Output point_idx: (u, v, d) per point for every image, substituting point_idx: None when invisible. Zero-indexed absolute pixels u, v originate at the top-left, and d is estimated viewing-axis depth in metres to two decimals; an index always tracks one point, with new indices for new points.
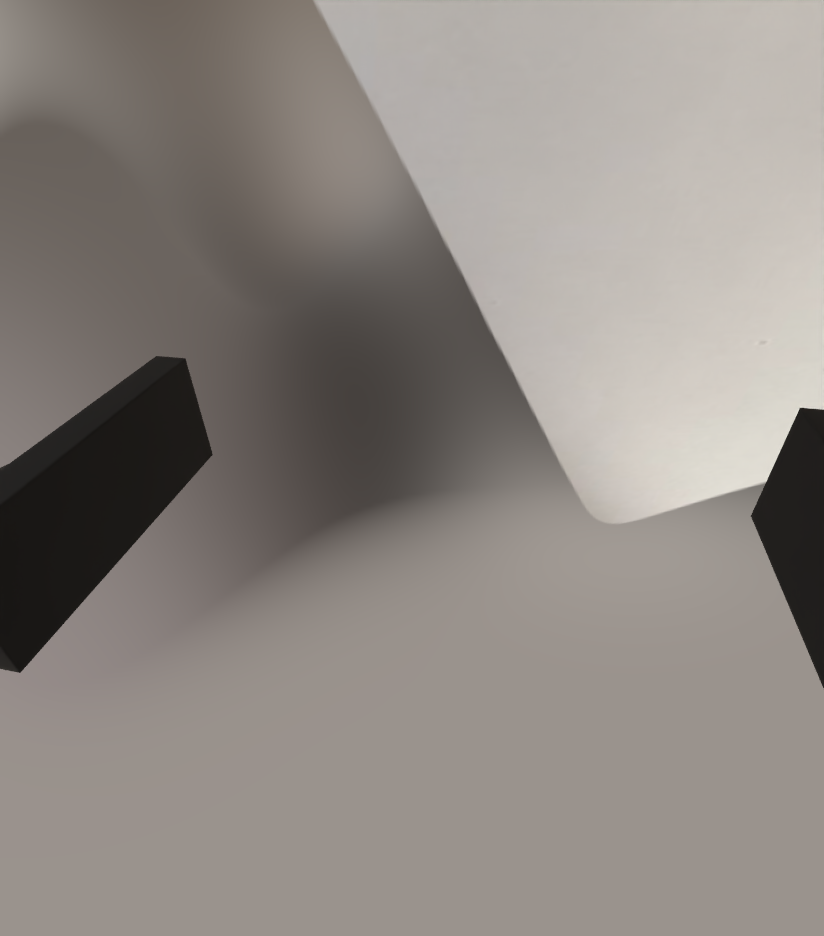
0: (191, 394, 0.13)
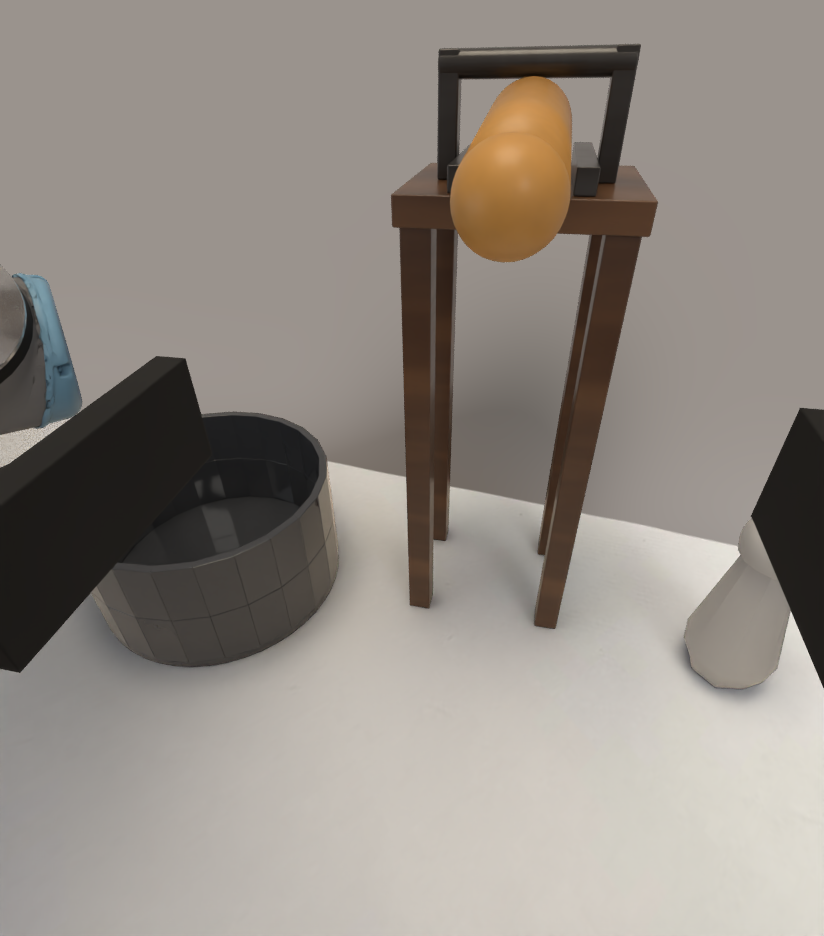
0: (190, 393, 0.13)
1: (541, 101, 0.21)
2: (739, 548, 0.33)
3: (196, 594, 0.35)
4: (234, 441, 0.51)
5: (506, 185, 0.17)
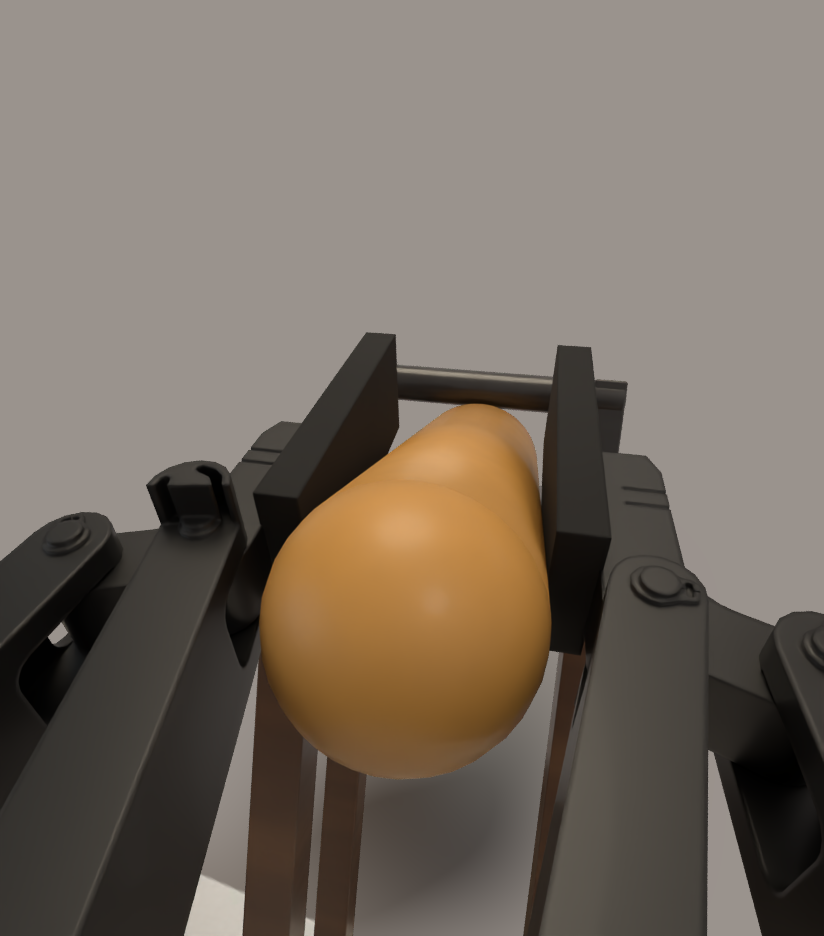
0: (395, 368, 0.14)
1: (488, 432, 0.13)
2: None
3: None
4: None
5: (376, 614, 0.06)
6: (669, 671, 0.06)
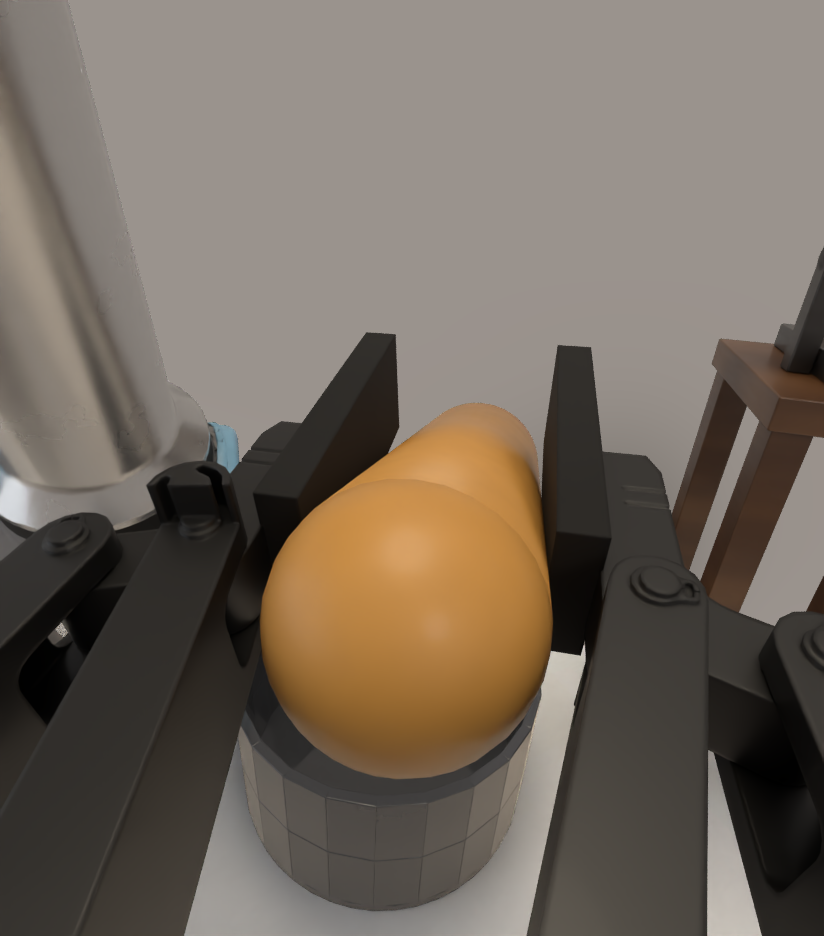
0: (395, 368, 0.14)
1: (489, 431, 0.13)
2: None
3: (418, 832, 0.28)
4: None
5: (377, 614, 0.06)
6: (669, 671, 0.06)
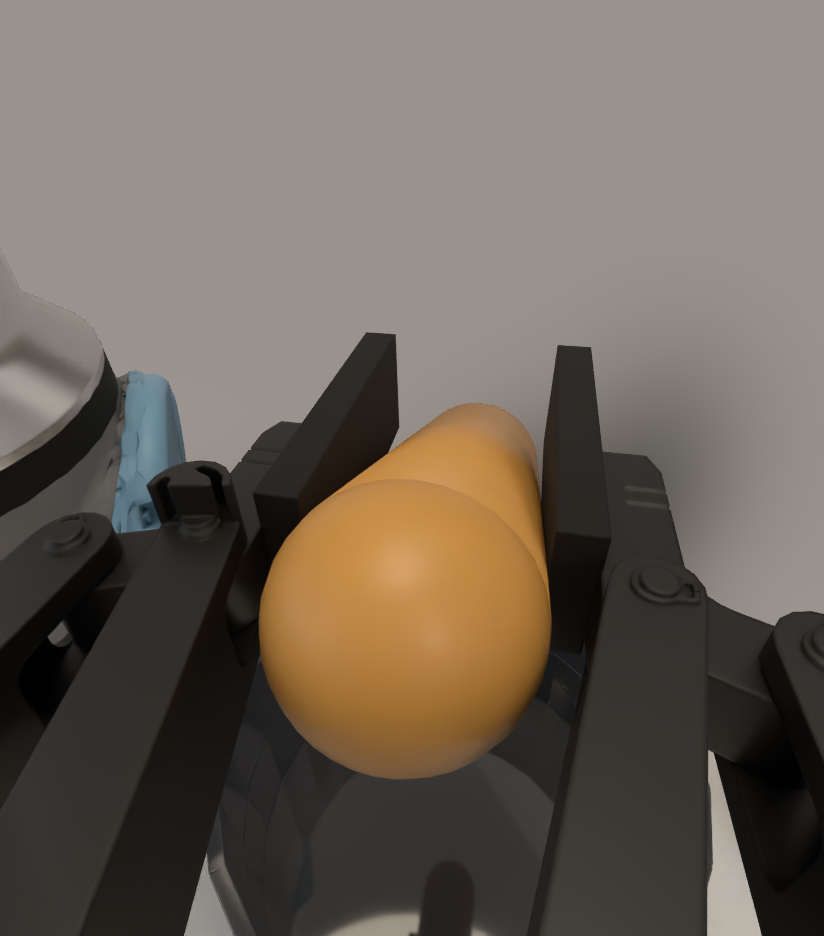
0: (395, 368, 0.14)
1: (488, 431, 0.13)
2: None
3: None
4: None
5: (375, 614, 0.06)
6: (670, 671, 0.06)
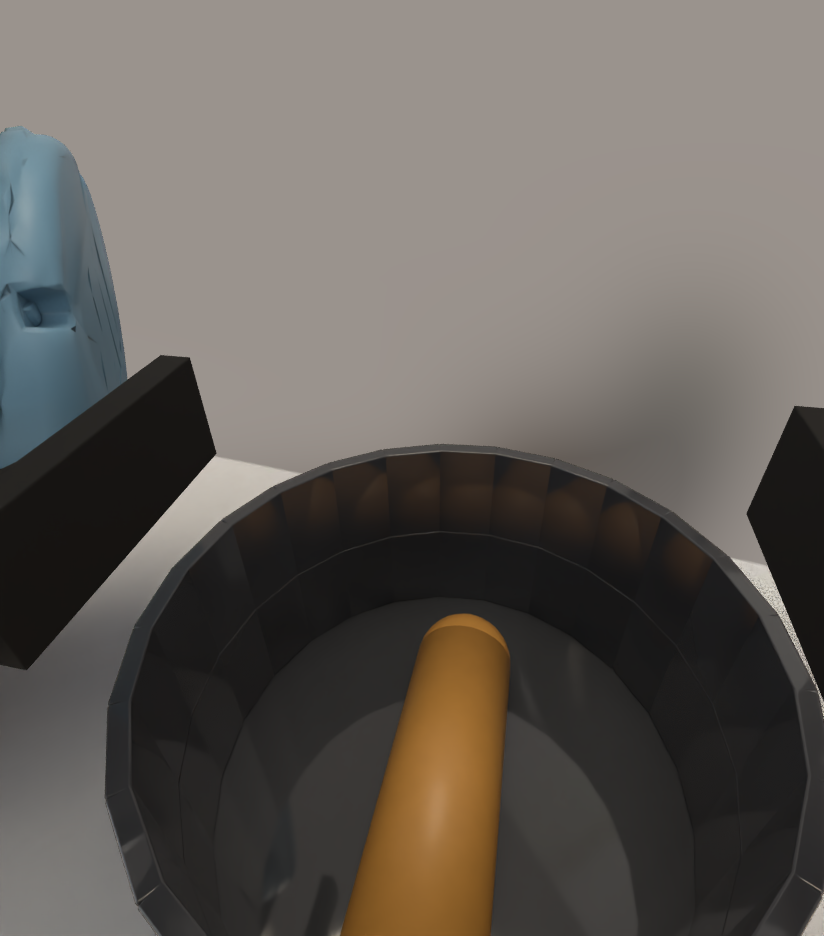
0: (195, 393, 0.13)
1: (463, 746, 0.18)
2: None
3: None
4: (435, 502, 0.25)
5: None
6: None
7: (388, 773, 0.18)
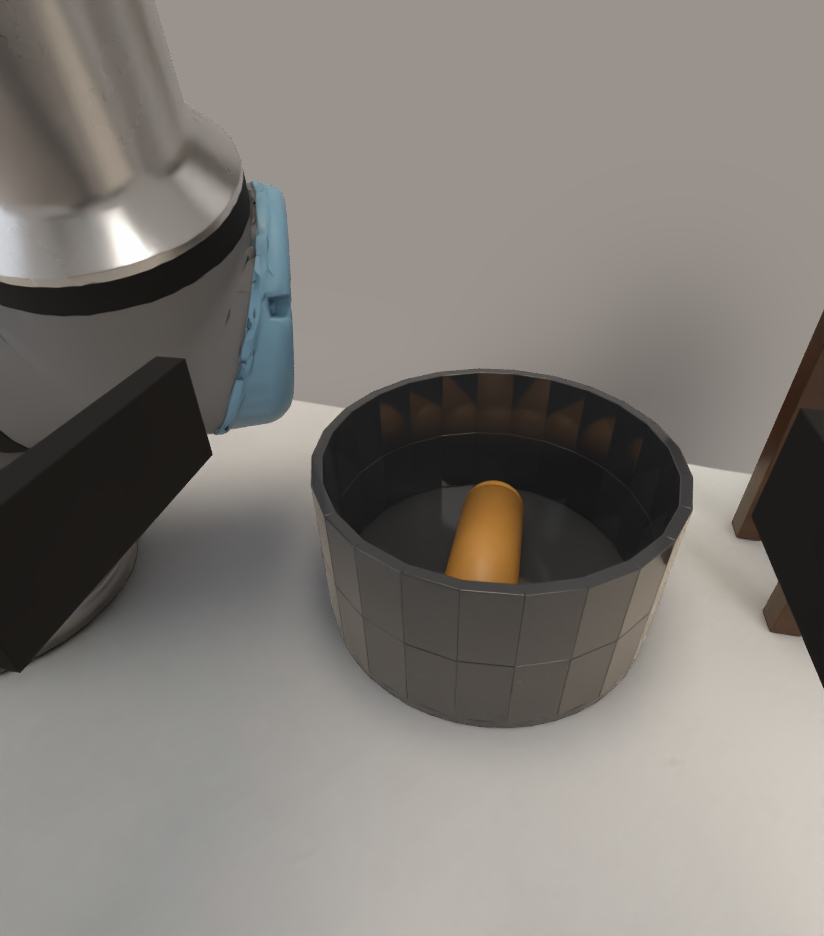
0: (191, 394, 0.13)
1: (498, 534, 0.31)
2: None
3: (571, 627, 0.23)
4: (473, 410, 0.38)
5: None
6: None
7: (453, 550, 0.31)
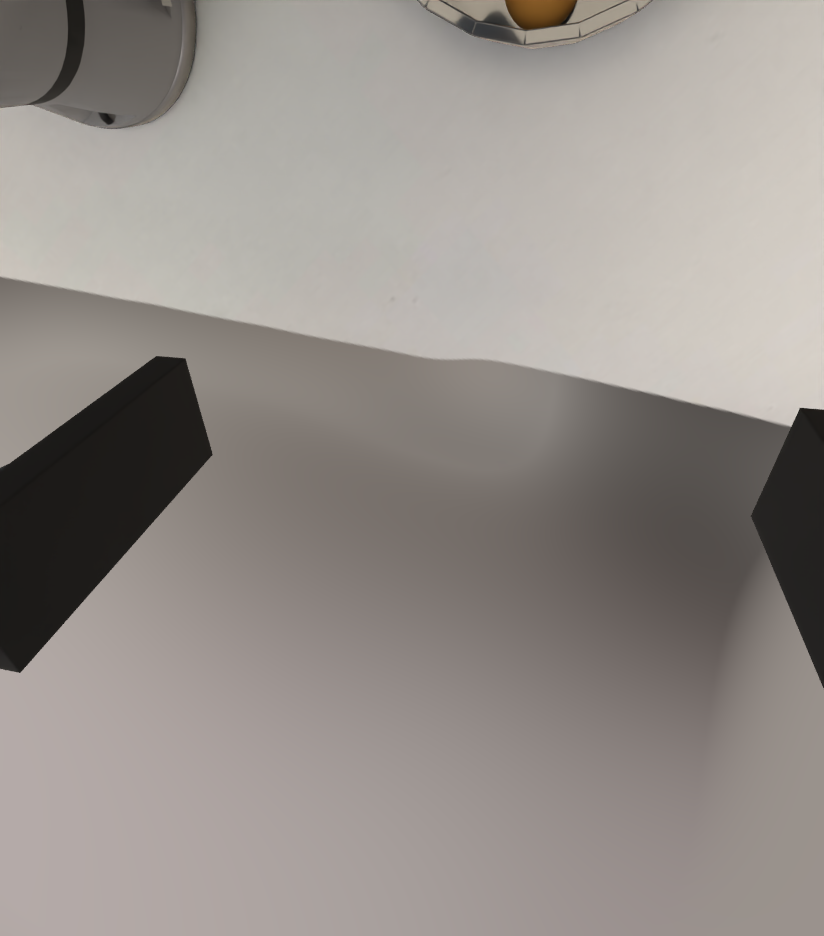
0: (191, 394, 0.13)
1: None
2: None
3: None
4: None
5: (538, 21, 0.29)
6: None
7: None
